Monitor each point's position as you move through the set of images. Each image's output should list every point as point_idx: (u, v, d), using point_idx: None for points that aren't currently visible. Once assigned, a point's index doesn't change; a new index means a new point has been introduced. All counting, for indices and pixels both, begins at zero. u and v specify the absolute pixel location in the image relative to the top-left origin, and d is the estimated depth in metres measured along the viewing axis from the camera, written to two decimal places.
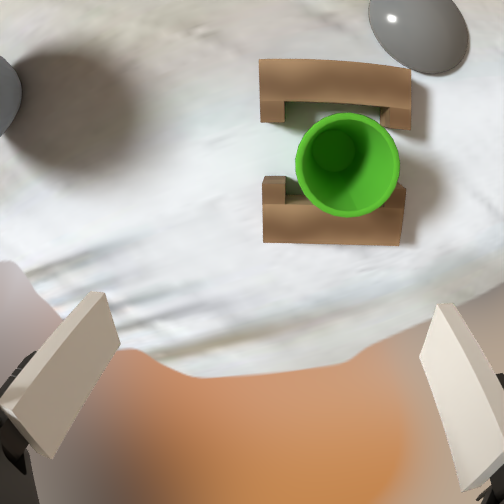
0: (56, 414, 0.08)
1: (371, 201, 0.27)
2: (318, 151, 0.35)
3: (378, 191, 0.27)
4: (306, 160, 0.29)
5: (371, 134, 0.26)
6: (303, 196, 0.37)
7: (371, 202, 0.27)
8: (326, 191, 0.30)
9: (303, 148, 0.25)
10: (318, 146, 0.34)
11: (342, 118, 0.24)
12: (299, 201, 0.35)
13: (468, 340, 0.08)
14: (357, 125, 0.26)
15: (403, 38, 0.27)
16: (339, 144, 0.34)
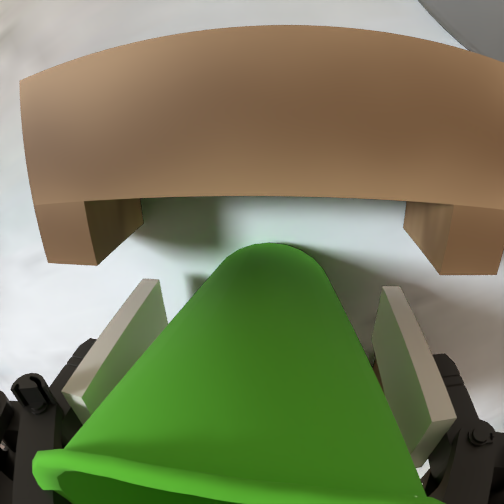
0: None
1: None
2: None
3: None
4: None
5: None
6: None
7: None
8: None
9: (54, 487, 0.04)
10: None
11: None
12: None
13: (407, 319, 0.10)
14: None
15: None
16: None
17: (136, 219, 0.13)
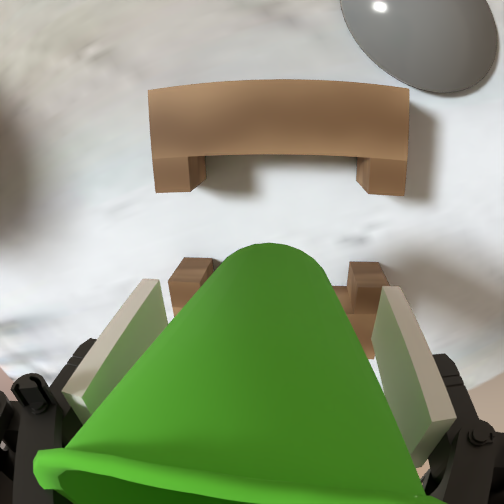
0: None
1: None
2: None
3: None
4: None
5: None
6: None
7: None
8: None
9: (55, 486, 0.04)
10: None
11: None
12: None
13: (407, 319, 0.10)
14: None
15: (396, 35, 0.17)
16: None
17: (203, 174, 0.23)
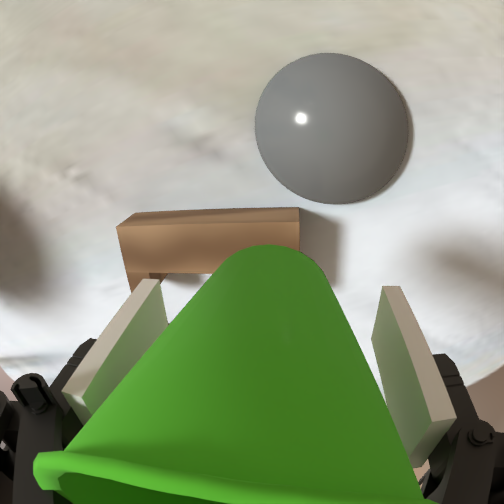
0: None
1: None
2: None
3: None
4: None
5: None
6: None
7: None
8: None
9: (54, 488, 0.04)
10: None
11: None
12: None
13: (407, 319, 0.10)
14: None
15: (302, 160, 0.26)
16: None
17: (164, 272, 0.32)
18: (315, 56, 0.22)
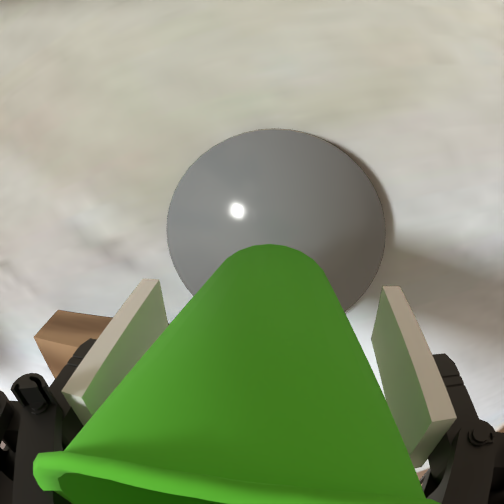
0: None
1: None
2: None
3: None
4: None
5: None
6: None
7: None
8: None
9: (55, 488, 0.04)
10: None
11: None
12: None
13: (407, 319, 0.10)
14: None
15: None
16: None
17: None
18: (249, 136, 0.16)
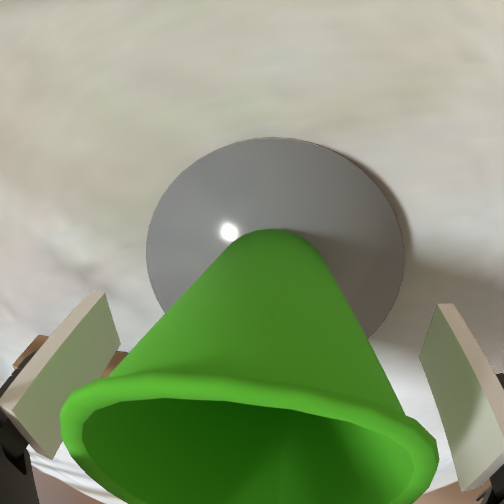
0: (56, 414, 0.08)
1: None
2: None
3: (346, 493, 0.07)
4: None
5: None
6: None
7: None
8: (219, 439, 0.11)
9: (76, 440, 0.06)
10: None
11: (180, 397, 0.04)
12: None
13: (468, 340, 0.08)
14: None
15: None
16: None
17: None
18: (241, 147, 0.13)
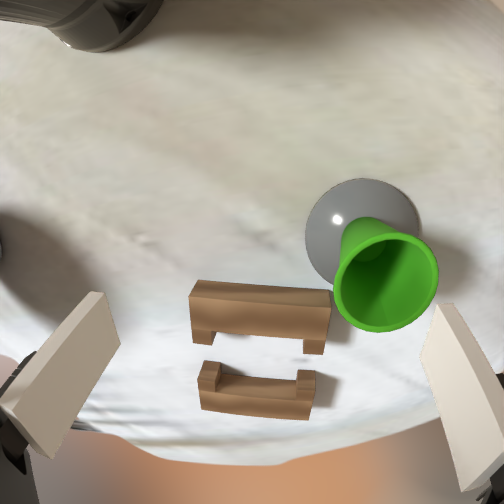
0: (56, 414, 0.08)
1: (402, 316, 0.25)
2: None
3: (411, 305, 0.26)
4: None
5: (413, 246, 0.25)
6: (234, 378, 0.44)
7: (402, 317, 0.25)
8: (357, 296, 0.29)
9: (344, 267, 0.24)
10: None
11: (390, 238, 0.22)
12: (228, 387, 0.43)
13: (468, 340, 0.08)
14: None
15: (337, 259, 0.35)
16: None
17: None
18: (359, 182, 0.32)
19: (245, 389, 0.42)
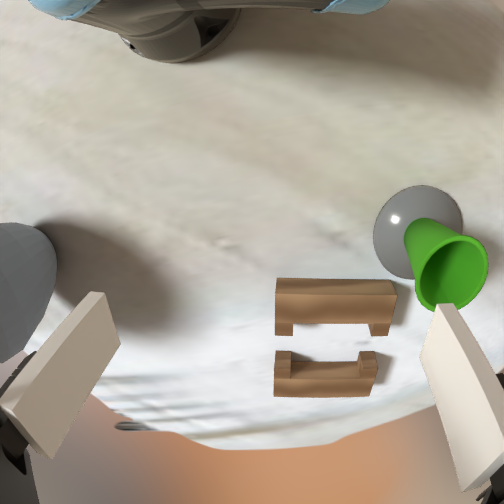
0: (56, 414, 0.08)
1: (461, 299, 0.30)
2: None
3: (466, 290, 0.30)
4: None
5: (468, 243, 0.29)
6: (303, 364, 0.49)
7: (461, 300, 0.30)
8: (424, 284, 0.33)
9: (424, 264, 0.28)
10: None
11: (457, 240, 0.26)
12: (300, 372, 0.47)
13: (468, 340, 0.08)
14: None
15: (399, 254, 0.39)
16: None
17: None
18: (418, 189, 0.35)
19: (315, 373, 0.47)
